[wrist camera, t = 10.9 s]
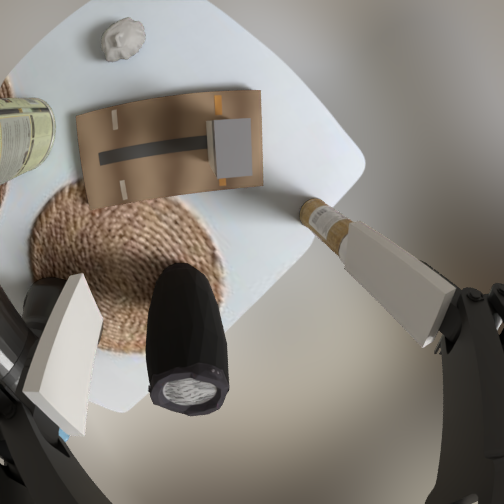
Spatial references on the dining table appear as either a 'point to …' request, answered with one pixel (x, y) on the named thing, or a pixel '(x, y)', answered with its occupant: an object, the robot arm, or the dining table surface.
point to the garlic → (123, 39)
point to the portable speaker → (186, 344)
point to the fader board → (162, 146)
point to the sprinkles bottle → (327, 225)
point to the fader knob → (230, 147)
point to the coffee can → (24, 135)
